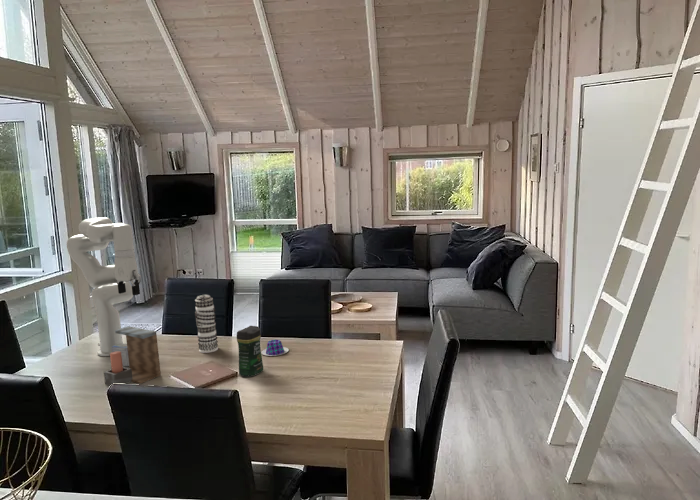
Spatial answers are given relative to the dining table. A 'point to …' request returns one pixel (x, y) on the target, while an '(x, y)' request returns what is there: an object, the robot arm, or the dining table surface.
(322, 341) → the dining table surface
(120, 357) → the peg
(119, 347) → the medicine box
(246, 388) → the dining table surface
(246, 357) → the coffee jar
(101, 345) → the robot arm
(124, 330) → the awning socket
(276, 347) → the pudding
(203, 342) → the decorative candle
